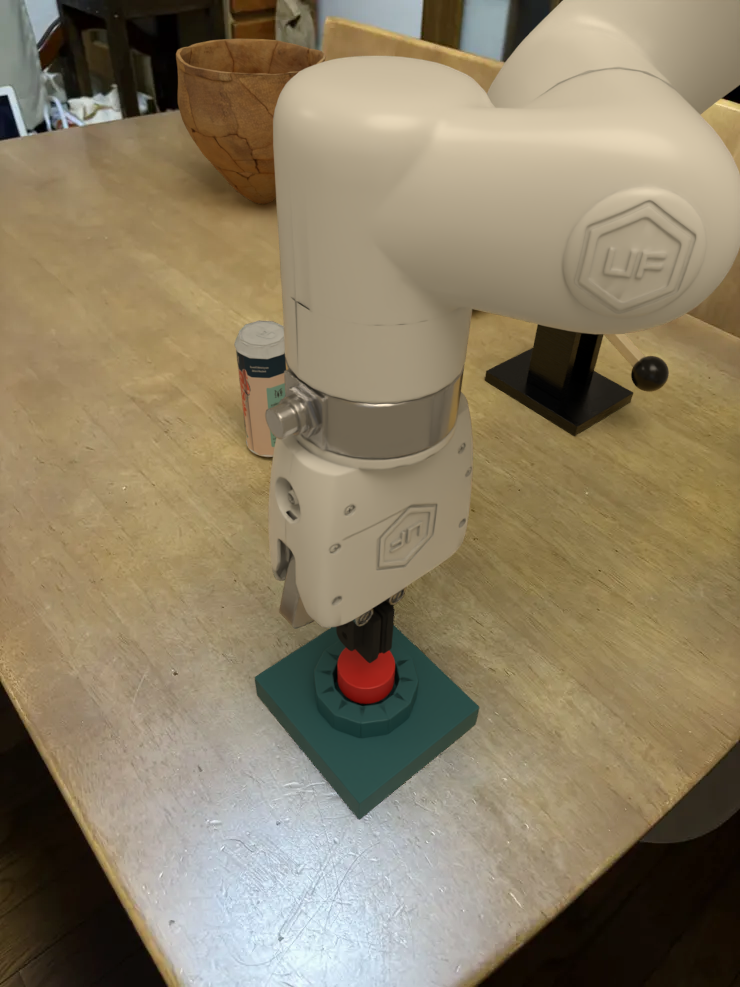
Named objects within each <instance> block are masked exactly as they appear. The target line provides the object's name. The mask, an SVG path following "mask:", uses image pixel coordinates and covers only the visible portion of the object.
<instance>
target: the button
mask: <svg viewBox="0 0 740 987" xmlns="http://www.w3.org/2000/svg"><path fill="white" fill-rule="evenodd" d="M337 671H338V685H339V688H340V690H341V691H342V693H343V694H344V695H345V696H346V697H347V698H349V699H350V700H352V701H354V702H357V703H362V704H371V703H375V702H378V701H380V700H382V699H384V698H385V697H386V696H387V695H388V694H389V693H390V691H391V690H392V688H393V685H394V676H395V660H394V657H393V655H392V653H391V652H390V651H387V652H386V653H384V654H383V653H379V655H378V658H377V659H376V660H374V661H373V662H371V663H368V662H367V661H366V660H365V659H364V658H363V657H362V656H361V655H360V654H359V653H358V652H357V651H356V650H353V651H350V650H348V649H347V648H345V649H344V650H343V651H342V652H341V654H340V656H339V658H338V664H337Z"/></svg>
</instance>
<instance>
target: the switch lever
mask: <svg viewBox="0 0 740 987" xmlns="http://www.w3.org/2000/svg"><path fill="white" fill-rule="evenodd" d="M603 336H604V337H605V338H606V339H607V340H608V341H609V343H611V345H612V346H614V348H615V349H616V350H617V351H618V353H619V354H620V355H621V356H622V357H623V358H624V359H625V360H626V362H628V364H629V365H631V367H632V368H631V373H630V378H631V382H632V383H633V385H634V387H636V388H637V389H638V390H640V391H643V392H646V393H650V392H651V393H652V392H655V391H658V390H660V389H661V388H663V387H664V386H665V385H666V384H667V382H668V379H669V376H670V370H669V367H668V364H667V363H666V362H665V361H664V360H663V359H662V358H661V357H659V356H655V355H647V356H646V355H645V354H644V353H643V352H642V351H641V350H640V349H639V348H638V347H637V345H636V344H635V343H634V342H633V341H632V339H630V338H629V336H628V335H627V333H626V334H604V335H603Z"/></svg>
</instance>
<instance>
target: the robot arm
mask: <svg viewBox="0 0 740 987" xmlns="http://www.w3.org/2000/svg"><path fill="white" fill-rule="evenodd" d="M739 86H740V0H561V1H560V3H558V4H557V6H555V7H554V8H553V9H552V10H551V11H550V12H549V13H548V14H547V15H546V16H545V17H544V18H543V19H542V20H541V21H540V22H539V23H538V24H537V25H536V26H535V27H534V28H533V29H532V30H531V31H530V32H529V34H528V35H527V36H525V38H524V39H522V41H521V42H520V43H519V45H517V47H516V48H515V49H514V50H513V51H512V53H511V54H510V55H509V57H508V58H507V59H506V61H505V62H504V63H503V65H502V66H501V68H500V70H499V71H498V73H497V74H496V75H495V77H494V79H493V81H492V82H491V84H490V86H489V87H488V91H487V92H486V90H485V89H484V88H483V87H482V86H481V85H480V84H479V82H477V81H476V80H475V79H474V78H473V77H472V76H470V75H469V74H467V73H465V72H462V71H460V70H458V69H455V68H453V67H451V66H448V65H447V64H446V65H445V64H444V63H443V64H442V63H439V62H436V61H431V60H428V59H427V60H426V59H422V58H415V57H408V56H407V57H406V56H394V55H357V56H347V57H338V58H333V59H329V60H325V62H322V63H319V64H316V65H313V66H310V67H308V68H305V69H303V70H302V71H300V72H298V73H297V74H296V75H295V76H294V77H293V78H291V79H290V80H289V81H288V82H287V83H286V85H285V86H284V88H283V90H282V91H281V93H280V95H279V98H278V101H277V104H276V107H275V111H274V118H273V150H274V167H275V185H276V199H275V200H276V202H275V203H276V218H277V235H278V236H277V237H278V254H279V270H280V285H281V301H282V322H283V323H282V325H283V326H284V343H285V360H286V370H285V371H284V380H285V396H284V398H283V399H281V400H280V402H279V404H278V405H276V406H274V407H272V408H269V409H267V410H266V412H265V418H266V422H267V425H268V427H269V429H270V431H271V432H272V434H273V435H274V436H275V437H276V442H275V447H274V454H273V457H272V460H271V461H272V462H271V468H270V477H269V489H268V505H267V506H268V508H267V509H268V516H267V518H268V519H267V522H268V524H267V525H268V526H267V530H268V531H267V532H268V551H269V552H268V553H269V560H270V567H271V571H272V574H273V577H274V578H275V580H277V581H279V582H283V581H284V582H283V588H282V593H281V598H280V603H279V607H278V613H279V614H280V615H281V616H282V617H283V619H285V621H286V622H287V623H288V624H289V625H290V626H291V627H292V628H293V629H295V630H296V629H300V628H303V627H305V626H307V625H310V624H311V623H314V622H315V623H316V624H317V625H319V626H320V627H321V628H324V629H325V628H326V629H330V628H331V627H336V632H337V636H338V638H339V640H340V641H341V642H342V644H343V645H344V646H345V647H346V648H347V649H348V650H350V651H353V650H356V651H357V652H358V653H359V654H360V655H361V656H362V657H363V658H364V659H365V660H366V661H367V662H368V663H371V662H373V661H374V660H376V659H377V658H378V655H379V653H383V654H384V653H386V652H387V651H389V650H390V649H391V648H392V637H393V625H394V624H395V614H396V613H395V612H396V609H395V605H397V604H399V603H400V601H402V600H403V598H404V597H405V595H406V592H407V588H408V587H409V586H410V585H411V584H413V583H414V582H416V581H417V580H419V579H420V578H422V577H423V576H425V575H427V574H428V573H429V572H431V571H433V570H434V569H436V568H437V567H439V566H440V565H442V564H443V563H444V562H446V561H447V560H448V559H450V558H451V557H452V556H454V554H456V552H457V551H458V550H459V549H460V548H461V546H462V545H463V543H464V540H465V537H466V534H467V530H468V524H469V518H470V509H471V500H472V488H473V475H474V436H473V426H472V418H471V412H470V406H469V401H468V398H467V397H466V395H465V394H464V393H463V392H462V388H463V379H464V371H465V364H466V360H467V352H468V344H469V337H470V329H471V322H472V315H473V310H474V311H479V312H484V313H487V314H493V315H497V316H502V317H504V318H505V317H506V318H510V319H513V320H517V321H522V322H526V323H531V324H534V325H542V326H547V327H552V328H557V329H562V330H567V331H572V332H580V333H588V334H626V335H627V334H634V333H639V332H643V331H648V330H652V329H655V328H658V327H661V326H663V325H666V324H669V323H671V322H673V321H675V320H677V319H679V318H681V317H684V316H685V315H686V314H688V313H689V312H691V311H692V310H694V309H695V308H697V307H698V306H699V305H700V304H702V303H703V302H704V301H705V300H706V299H707V298H709V297H710V295H712V294H713V293H714V292H715V291H716V289H717V288H718V287H719V286H720V285H721V283H722V282H724V280H725V278H726V277H727V275H728V273H729V272H730V271H731V269H732V267H733V265H734V263H735V260H736V258H737V257H738V255H739V251H740V170H739V167H738V165H737V163H736V161H735V159H734V156H733V155H732V153H731V152H730V150H729V148H728V147H727V146H726V144H725V142H724V141H723V139H722V137H720V135H719V134H718V132H716V130H715V128H714V127H712V125H710V123H709V122H708V121H707V120H706V119H705V118H704V117H703V116H702V114H704V112H706V111H707V110H708V109H709V108H711V107H713V105H715V104H716V103H717V102H719V101H720V100H721V99H723V98H724V97H725V96H727V95H728V94H729V93H731V92H733V91H734V90H735V89H737V88H738V87H739ZM394 626H395V625H394Z"/></svg>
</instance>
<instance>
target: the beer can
mask: <svg viewBox="0 0 740 987" xmlns="http://www.w3.org/2000/svg"><path fill="white" fill-rule="evenodd" d="M234 348H235V355H236V362H237V371H238V381H239V387H240V388H239V389H240V398H241V405H242V414H243V423H244V430H245V444H246V447H247V448H248V450H249V451H250V452H251V453H253V454H254V455H256V456H259V457H265V458H273V454H274V447H275V442H276V437H275V436H274V435H273V434H272V432H271V431H270V429H269V427H268V425H267V422H266V418H265V412H266V410H267V409H269V408H272V407H274V406H276V405H278V404H279V402H280V400H281V399H283V398H284V396H285V380H284V371H285V370H286V360H285V343H284V325H283V324H280V323H278V322H276V321H275V320H274V321H273V320H256V321H252V322H248V323H245V324H244V325H243V326H242V327H241V328H240V329H239V330H238V333H237V336H236V338H235V340H234Z"/></svg>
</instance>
